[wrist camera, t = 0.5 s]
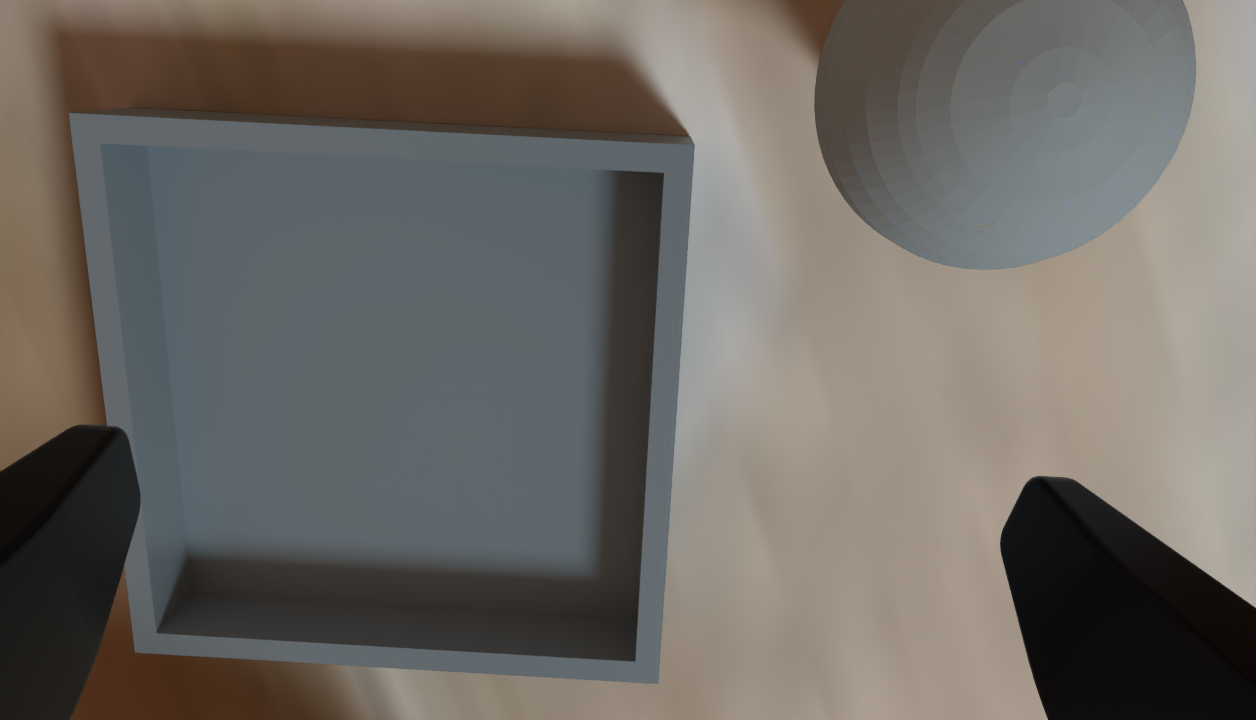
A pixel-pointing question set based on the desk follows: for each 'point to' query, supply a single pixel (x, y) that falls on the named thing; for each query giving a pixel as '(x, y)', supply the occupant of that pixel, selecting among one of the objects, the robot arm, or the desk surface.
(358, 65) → the desk surface
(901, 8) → the light bulb
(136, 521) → the robot arm
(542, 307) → the tray
